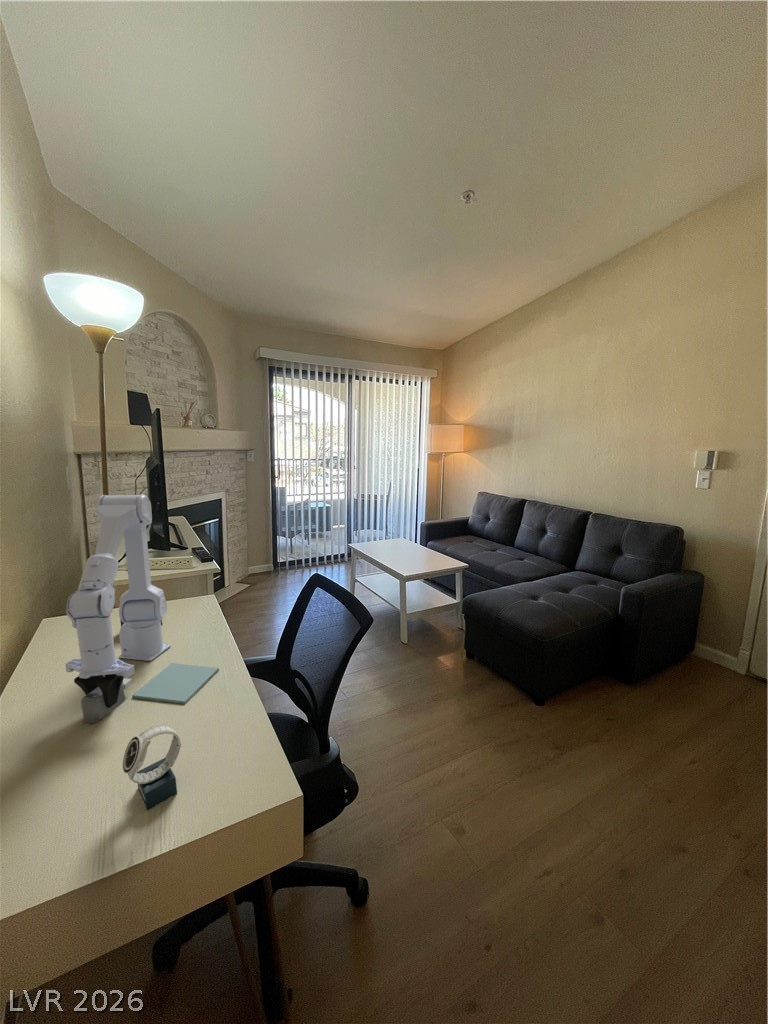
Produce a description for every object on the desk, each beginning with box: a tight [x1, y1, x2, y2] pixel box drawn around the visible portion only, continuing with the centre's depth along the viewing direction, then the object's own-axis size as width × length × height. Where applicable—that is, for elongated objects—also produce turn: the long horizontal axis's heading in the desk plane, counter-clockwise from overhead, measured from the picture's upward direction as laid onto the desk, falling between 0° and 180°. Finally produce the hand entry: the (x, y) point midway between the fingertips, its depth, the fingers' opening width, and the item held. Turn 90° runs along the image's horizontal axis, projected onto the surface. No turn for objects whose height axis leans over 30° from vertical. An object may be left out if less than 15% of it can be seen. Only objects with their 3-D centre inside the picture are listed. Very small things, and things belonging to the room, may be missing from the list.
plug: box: [80, 678, 133, 725], centre depth 84 cm, size 3×11×5 cm, turn 171°
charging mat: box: [132, 662, 220, 705], centre depth 93 cm, size 13×13×1 cm
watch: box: [122, 724, 182, 811], centre depth 63 cm, size 6×8×11 cm
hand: (104, 703), depth 83 cm, fingers closed on plug, 3 cm apart
